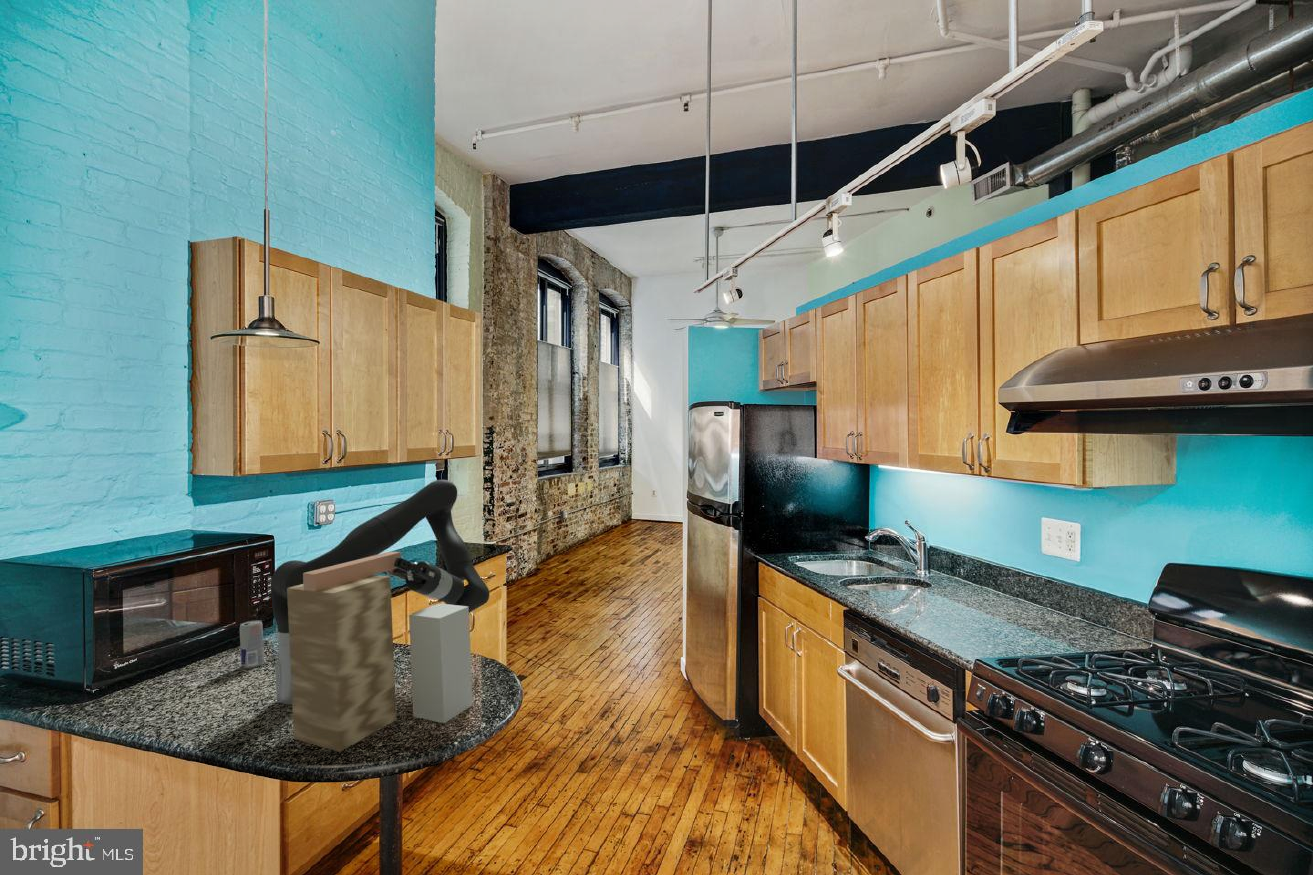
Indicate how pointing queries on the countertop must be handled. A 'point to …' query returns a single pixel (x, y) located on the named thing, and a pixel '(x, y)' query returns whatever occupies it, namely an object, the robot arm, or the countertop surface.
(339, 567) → the terracotta bar
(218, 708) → the countertop surface
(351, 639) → the oak stand
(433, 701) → the grey block
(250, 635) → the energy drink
